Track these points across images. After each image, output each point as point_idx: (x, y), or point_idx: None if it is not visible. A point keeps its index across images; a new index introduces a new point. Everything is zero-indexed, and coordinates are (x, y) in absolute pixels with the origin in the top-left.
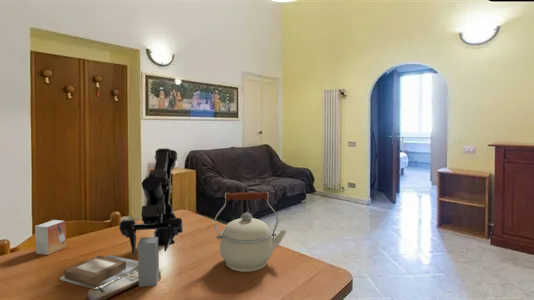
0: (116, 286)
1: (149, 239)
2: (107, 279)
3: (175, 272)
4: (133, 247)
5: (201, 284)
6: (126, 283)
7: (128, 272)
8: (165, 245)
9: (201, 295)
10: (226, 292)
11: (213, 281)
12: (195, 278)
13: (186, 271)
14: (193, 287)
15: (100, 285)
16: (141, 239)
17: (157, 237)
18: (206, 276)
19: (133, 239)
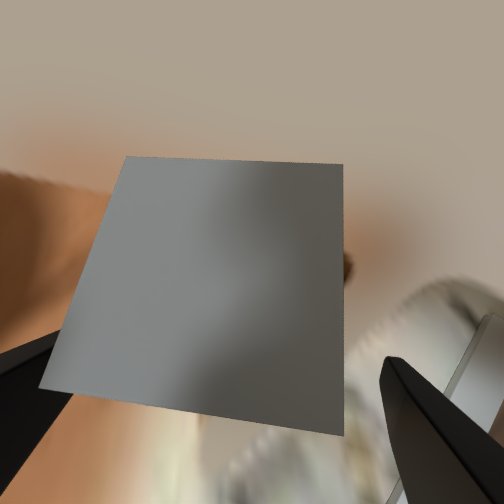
0: (410, 336)
1: (190, 297)
2: (493, 406)
3: (123, 415)
4: (414, 388)
5: (54, 257)
6: (367, 356)
7: (394, 498)
8: (51, 340)
9: (83, 188)
10: (6, 188)
11: (4, 269)
12: (56, 314)
13: (68, 409)
14: (89, 243)
15: (498, 338)
16: (321, 331)
17: (57, 360)
18: (7, 320)
19: (502, 497)
